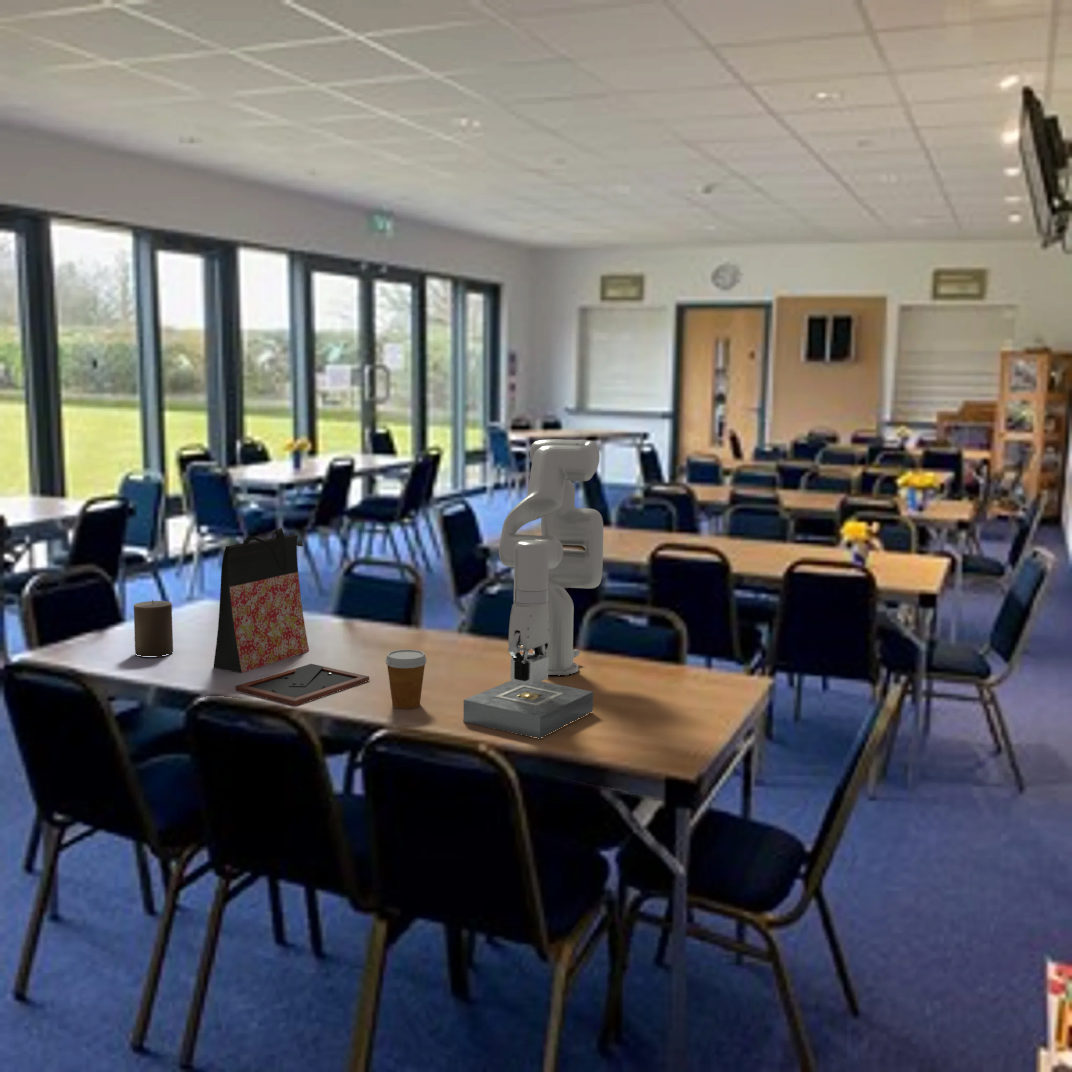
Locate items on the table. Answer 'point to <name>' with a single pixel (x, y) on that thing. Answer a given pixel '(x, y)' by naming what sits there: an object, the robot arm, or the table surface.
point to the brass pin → (529, 695)
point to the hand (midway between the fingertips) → (529, 675)
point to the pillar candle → (153, 628)
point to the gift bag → (260, 604)
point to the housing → (534, 668)
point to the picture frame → (301, 684)
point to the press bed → (528, 707)
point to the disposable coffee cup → (406, 677)
